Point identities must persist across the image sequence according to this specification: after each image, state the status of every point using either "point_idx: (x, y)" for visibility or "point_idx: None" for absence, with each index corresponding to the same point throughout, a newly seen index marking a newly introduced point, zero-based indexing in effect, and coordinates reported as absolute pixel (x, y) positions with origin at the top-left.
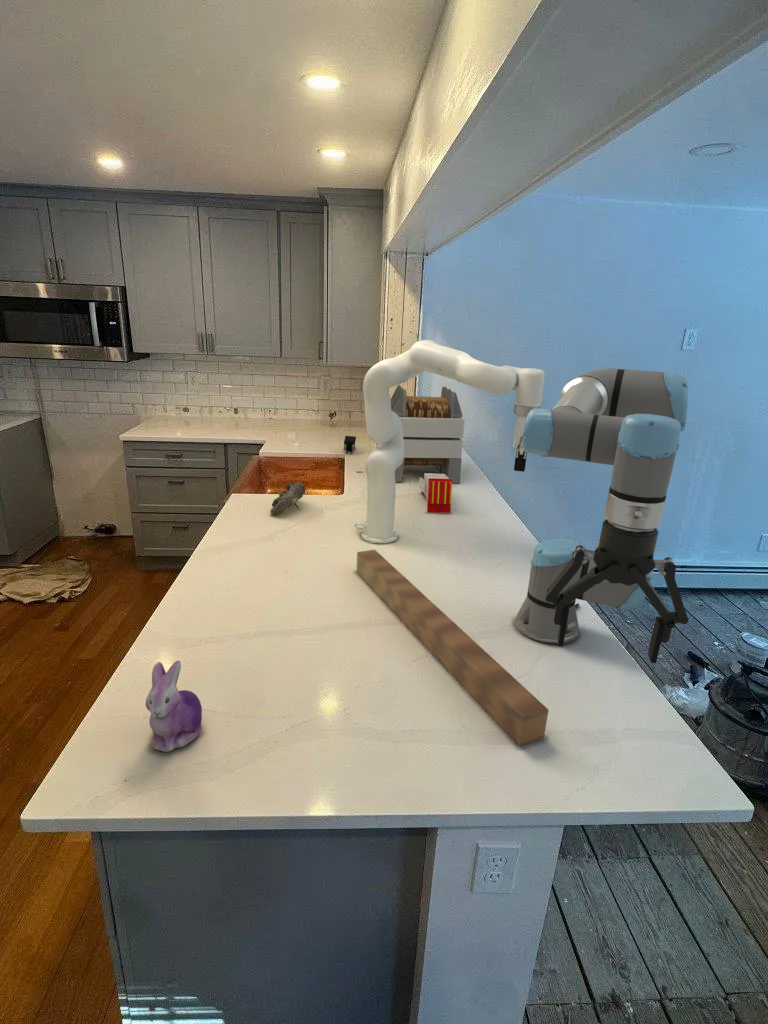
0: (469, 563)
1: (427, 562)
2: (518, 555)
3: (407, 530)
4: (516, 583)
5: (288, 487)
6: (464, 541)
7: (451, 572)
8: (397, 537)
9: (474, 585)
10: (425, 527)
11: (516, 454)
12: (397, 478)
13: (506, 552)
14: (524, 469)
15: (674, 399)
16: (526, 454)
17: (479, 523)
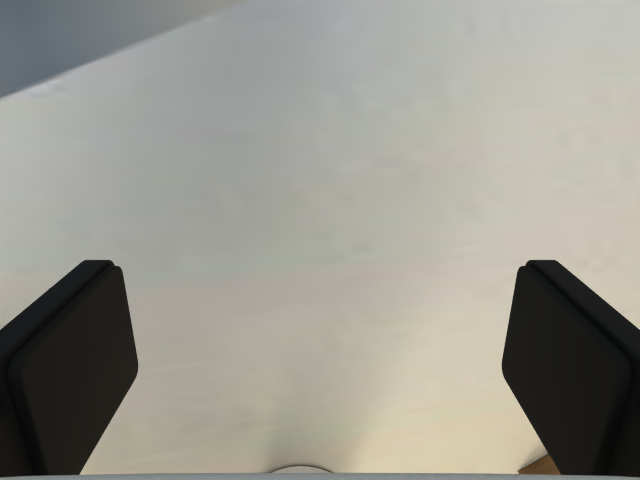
0: (412, 256)
1: (440, 367)
2: (282, 94)
3: (217, 453)
4: (536, 91)
5: None
6: (230, 291)
7: (494, 297)
8: (293, 467)
9: (573, 224)
10: (165, 415)
11: (82, 456)
12: None
13: (270, 141)
14: (563, 272)
15: None
16: (38, 331)
17: (22, 262)
